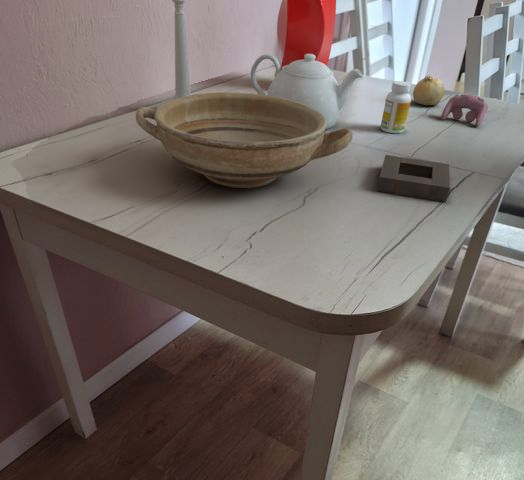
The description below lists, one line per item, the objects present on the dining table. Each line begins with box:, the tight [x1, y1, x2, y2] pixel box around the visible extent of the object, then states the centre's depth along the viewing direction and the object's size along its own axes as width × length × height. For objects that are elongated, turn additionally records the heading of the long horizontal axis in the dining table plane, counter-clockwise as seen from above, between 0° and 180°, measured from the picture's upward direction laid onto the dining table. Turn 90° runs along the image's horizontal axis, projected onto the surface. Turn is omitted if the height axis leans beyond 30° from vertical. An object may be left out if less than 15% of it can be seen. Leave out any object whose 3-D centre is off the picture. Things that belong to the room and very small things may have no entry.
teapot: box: [250, 53, 364, 130], centre depth 109 cm, size 19×18×14 cm
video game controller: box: [440, 93, 489, 128], centre depth 119 cm, size 10×5×7 cm, turn 58°
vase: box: [276, 0, 337, 70], centre depth 127 cm, size 15×14×28 cm
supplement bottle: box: [380, 80, 412, 134], centre depth 109 cm, size 5×5×10 cm
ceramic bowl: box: [135, 91, 354, 189], centre depth 84 cm, size 37×29×10 cm
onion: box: [412, 74, 446, 106], centre depth 128 cm, size 8×8×7 cm
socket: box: [376, 154, 451, 203], centre depth 87 cm, size 12×12×2 cm
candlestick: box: [155, 0, 192, 110], centre depth 104 cm, size 13×13×30 cm
